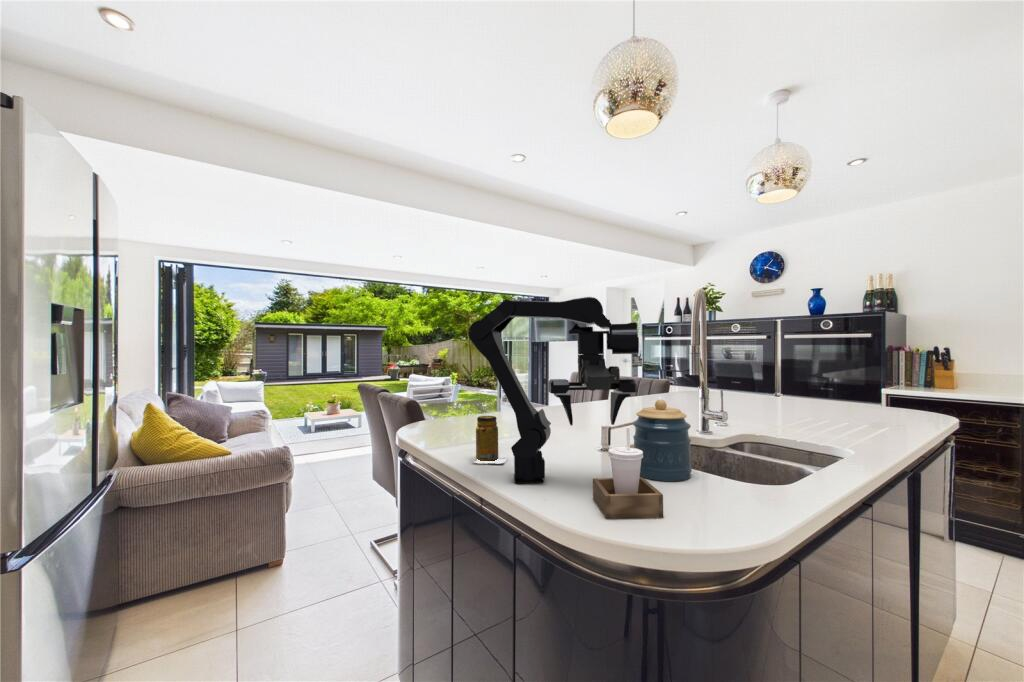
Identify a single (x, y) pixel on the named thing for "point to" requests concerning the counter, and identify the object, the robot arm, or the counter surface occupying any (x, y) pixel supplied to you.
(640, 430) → the canister
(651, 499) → the wooden box
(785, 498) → the counter surface
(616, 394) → the robot arm
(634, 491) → the smoothie
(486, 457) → the condiment
